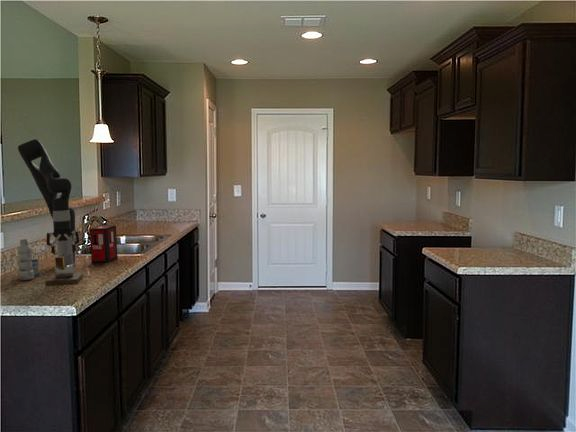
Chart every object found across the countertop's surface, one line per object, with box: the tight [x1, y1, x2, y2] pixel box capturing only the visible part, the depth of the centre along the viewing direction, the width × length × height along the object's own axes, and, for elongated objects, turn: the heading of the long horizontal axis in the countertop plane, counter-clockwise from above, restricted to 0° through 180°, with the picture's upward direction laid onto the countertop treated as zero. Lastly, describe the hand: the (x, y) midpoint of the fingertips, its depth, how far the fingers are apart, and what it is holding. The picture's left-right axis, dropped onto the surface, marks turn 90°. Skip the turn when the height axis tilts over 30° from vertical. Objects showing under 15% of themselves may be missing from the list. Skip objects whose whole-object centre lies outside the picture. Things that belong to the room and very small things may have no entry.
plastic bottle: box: [17, 238, 34, 281], centre depth 242 cm, size 6×7×20 cm
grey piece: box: [54, 254, 75, 278], centre depth 239 cm, size 10×8×10 cm
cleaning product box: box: [89, 225, 118, 265], centre depth 290 cm, size 16×9×20 cm, turn 179°
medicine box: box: [17, 258, 40, 278], centre depth 250 cm, size 8×4×9 cm, turn 149°
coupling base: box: [45, 272, 84, 286], centre depth 240 cm, size 14×14×2 cm
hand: (63, 253), depth 238 cm, fingers open, 8 cm apart
